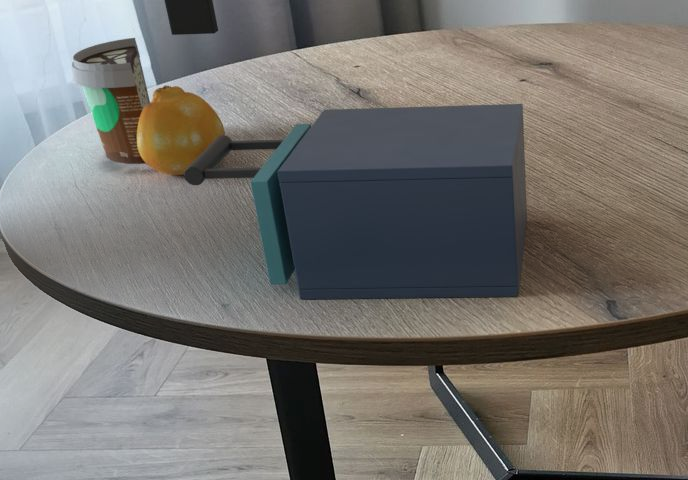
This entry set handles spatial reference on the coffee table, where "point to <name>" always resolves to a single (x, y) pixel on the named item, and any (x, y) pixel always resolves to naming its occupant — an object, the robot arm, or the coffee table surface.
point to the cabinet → (408, 203)
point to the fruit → (176, 129)
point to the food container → (114, 94)
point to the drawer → (258, 192)
